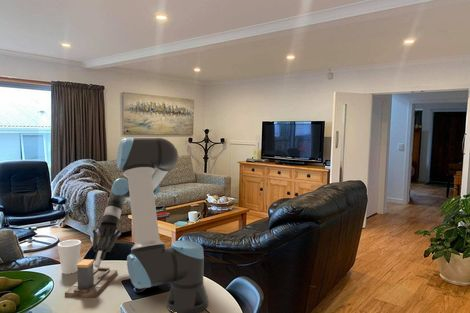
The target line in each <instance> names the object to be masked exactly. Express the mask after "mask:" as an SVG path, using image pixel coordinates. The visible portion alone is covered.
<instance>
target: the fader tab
mask: <svg viewBox="0 0 470 313" xmlns="http://www.w3.org/2000/svg"><path fill="white" fill-rule="evenodd" d="M94 264H95V259H85V258H84V259H82V260H79V263H78V264H77V265H76V267H77V281H78V289H84V290H88V289H89V288H90V287H91V286H92V285H93V284H94V273H93V269H94Z"/></svg>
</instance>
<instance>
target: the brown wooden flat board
mask: <svg viewBox="0 0 470 313" xmlns="http://www.w3.org/2000/svg"><path fill="white" fill-rule="evenodd" d="M93 273H94V284H93V285H92V286H91V287H90V288H89V289H88V290H84V289H78V280H77V281H76V282H75V283H74V284H73V285H71V287H69V288H68V289H67V290H66V291H64V297H73V298H96V297H97V296H98V295H99V294H100V293H101V292H102V291H103V290H104V289H105V288H106V287H107V285H108V284H110V282H111V281H112V280H113V279H114V277H116V275H117V274H118V270H116V269H110V267H99V268H96V269H94V268H93Z"/></svg>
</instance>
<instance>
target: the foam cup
mask: <svg viewBox="0 0 470 313" xmlns="http://www.w3.org/2000/svg"><path fill="white" fill-rule="evenodd" d="M81 248H82V241H81V240H80V239H67V240H63V241H60V242H58V243H57V250H58V251H57V252H58V257H59V261H60V262H59V263H60V267H61V273H62V274H64V275H70V274H71V273H72V274H74V273H76V271H77V267H76V265H77V264H78V263H79V262H80V257H81V256H80V254H81Z"/></svg>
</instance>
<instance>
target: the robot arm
mask: <svg viewBox="0 0 470 313" xmlns="http://www.w3.org/2000/svg"><path fill="white" fill-rule="evenodd" d="M178 161H179V153H178V149H177V148H176V147H175V145H174V143H172V142H171V141H169V140H168V139H166V138H162V137H130V138H129V137H125V138H122V139H121V140H120V142H119V144H118V148H117V154H116V166H117V170H120V171H122V175H123V176H124V177H125V178H123V177H121V178H117V179H116V180H114V182H113V184H112V186H111V190H110V194H109V197H108V200H107V204H106V207H105V210H104V211H103V212H104V213H103V217H102V219H101V223H100V225H99V227H98V228H97V229H93V230H92V233H93V234H92V235H93V239H92V250H93V251H94V252H95V253H94V263H93V267H95V268H96V269H97V268H99V267H100V266H101V264H102V261H104V260H105V257H106V254H107V253H110V252H111V251H112V249H113V248H114V246H115V244H116V242H117V241H118V238H119V237H120V236H121V235H122V232H121V231H120V229H118V226H119V223H120V219H121V216H122V215H121V214H122V211H123V207H124V205H125V201H126V199H128V198H129V202H130V211H131V220H132V230H133V238H134V244H133V246H132V247H131V248H130V253H129V254H128V255H127V257H126V267H127V272H128V276H129V278H130V282H131V281H132V283H133V285H134V286H133V287H134V288H136V289H145V288H151V287H154V286H155V287H156V286H160V285H164V284H168V283H169V284H170V283H171V286H170V289H169V292H168V294H167V298H166V307H167V306H168V308H169V309H170V310H172V311H173V312H177V313H197V312H199V313H201V312H202V310H203V311H204V310H206V308H207V307H208V305H209V298H208V294H207V291H206V287H205V284H204V266H205V264H204V262H205V260H204V259H205V256H204V247H203V246H202V244H200V243H198V242H195V241H191V240H175V241H172V243H171V245H170V247H169V248H166V243H165V242H163V241H162V240H161V239H160V232H159V225H158V216H157V207H156V202H155V201H156V200H155V196H157V195H159V193H160V191H161V190H160V189H161V188H160V183H162V181H163V179H164V178H165V176H166V175H167V174H168V172H171V171H172V170H173V169H174V168H175V167H176V165H177V163H178ZM126 178H127V179H126ZM99 234H100V236H98V235H99ZM168 308H167V309H168ZM200 311H201V312H200Z"/></svg>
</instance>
